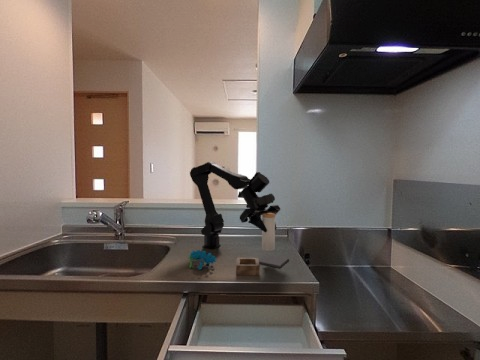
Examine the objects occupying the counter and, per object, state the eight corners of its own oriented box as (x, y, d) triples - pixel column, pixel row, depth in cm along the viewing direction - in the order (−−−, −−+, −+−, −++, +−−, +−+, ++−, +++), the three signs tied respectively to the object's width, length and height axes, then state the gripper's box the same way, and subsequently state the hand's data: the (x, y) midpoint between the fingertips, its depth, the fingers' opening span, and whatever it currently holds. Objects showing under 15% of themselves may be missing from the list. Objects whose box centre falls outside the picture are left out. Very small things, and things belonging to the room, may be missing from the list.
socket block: (236, 275, 99) (236, 265, 99) (236, 266, 107) (236, 257, 107) (259, 275, 99) (259, 265, 99) (258, 266, 107) (258, 257, 107)
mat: (256, 262, 111) (256, 260, 111) (266, 255, 120) (266, 254, 120) (279, 267, 106) (279, 265, 106) (288, 260, 115) (288, 258, 115)
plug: (259, 249, 110) (260, 214, 109) (265, 246, 114) (265, 212, 113) (271, 251, 107) (271, 215, 106) (276, 248, 111) (277, 213, 110)
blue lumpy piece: (220, 261, 108) (209, 248, 102) (217, 275, 105) (205, 263, 98) (196, 260, 112) (184, 248, 106) (191, 274, 109) (179, 263, 102)
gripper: (244, 188, 106) (265, 221, 98) (277, 186, 118) (297, 215, 110) (231, 206, 112) (249, 238, 105) (264, 202, 124) (282, 231, 117)
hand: (271, 230), depth 109 cm, fingers closed on plug, 5 cm apart
